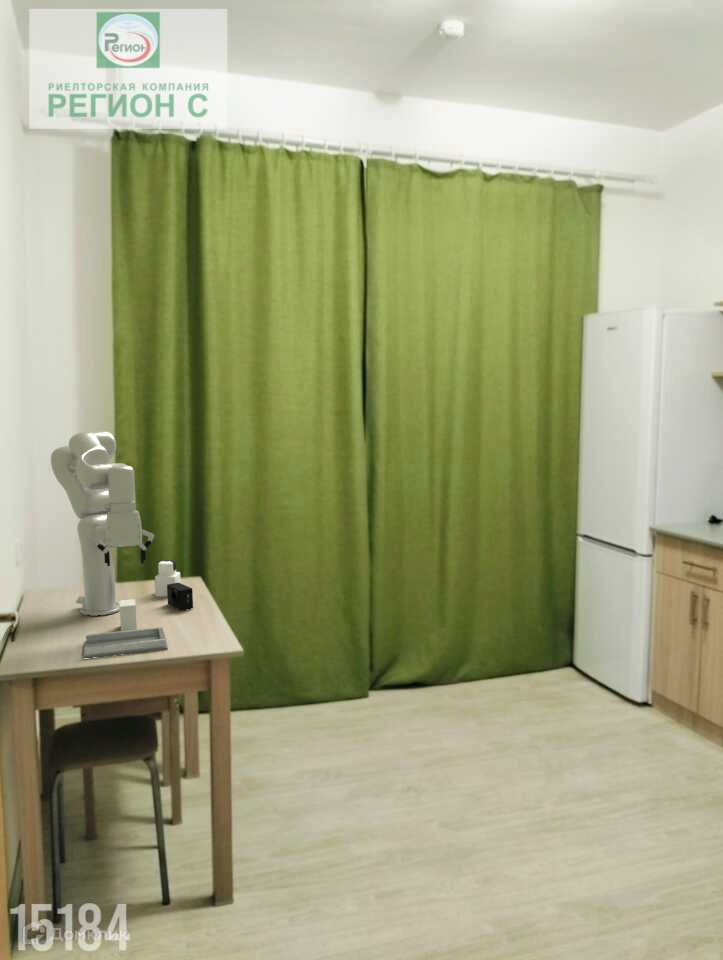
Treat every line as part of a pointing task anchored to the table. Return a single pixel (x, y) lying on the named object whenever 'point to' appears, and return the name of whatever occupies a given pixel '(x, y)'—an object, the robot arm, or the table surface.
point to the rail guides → (125, 646)
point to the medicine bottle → (166, 577)
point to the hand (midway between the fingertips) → (125, 564)
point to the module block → (128, 615)
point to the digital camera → (180, 596)
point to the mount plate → (124, 642)
